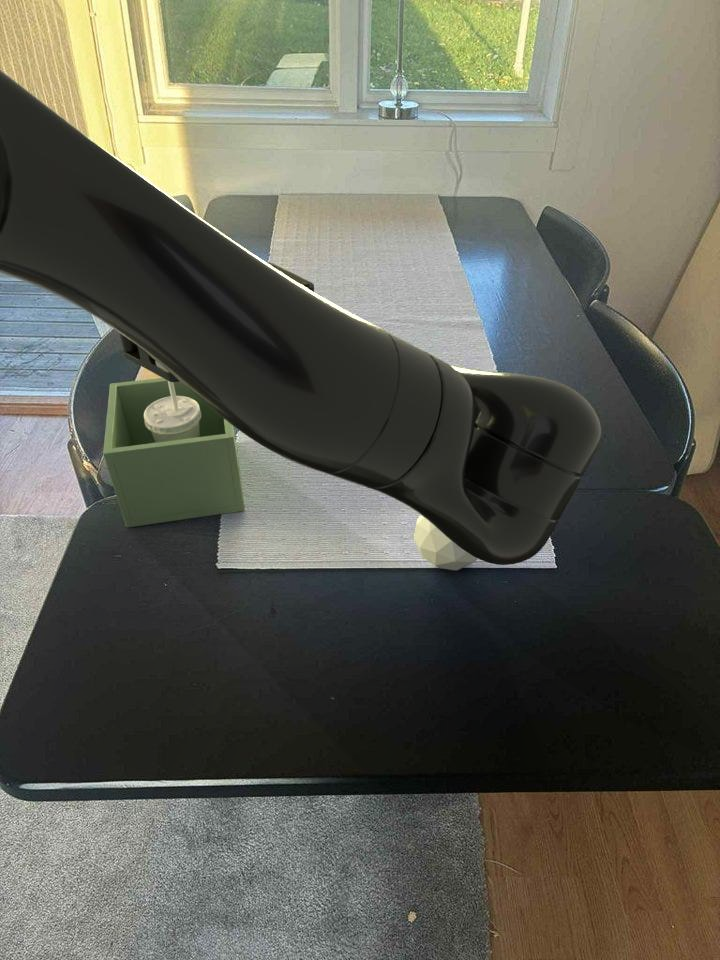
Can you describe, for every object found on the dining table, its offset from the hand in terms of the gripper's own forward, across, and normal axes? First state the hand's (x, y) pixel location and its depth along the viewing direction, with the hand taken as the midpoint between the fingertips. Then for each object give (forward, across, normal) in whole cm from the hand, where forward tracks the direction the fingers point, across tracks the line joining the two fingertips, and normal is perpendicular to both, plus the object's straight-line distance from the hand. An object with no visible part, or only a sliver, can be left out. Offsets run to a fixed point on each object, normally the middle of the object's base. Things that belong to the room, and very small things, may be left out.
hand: (163, 286), depth 55 cm
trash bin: (+13, -6, +32) cm, 35 cm away
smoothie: (+13, -6, +32) cm, 35 cm away
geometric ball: (-18, -18, +32) cm, 41 cm away
